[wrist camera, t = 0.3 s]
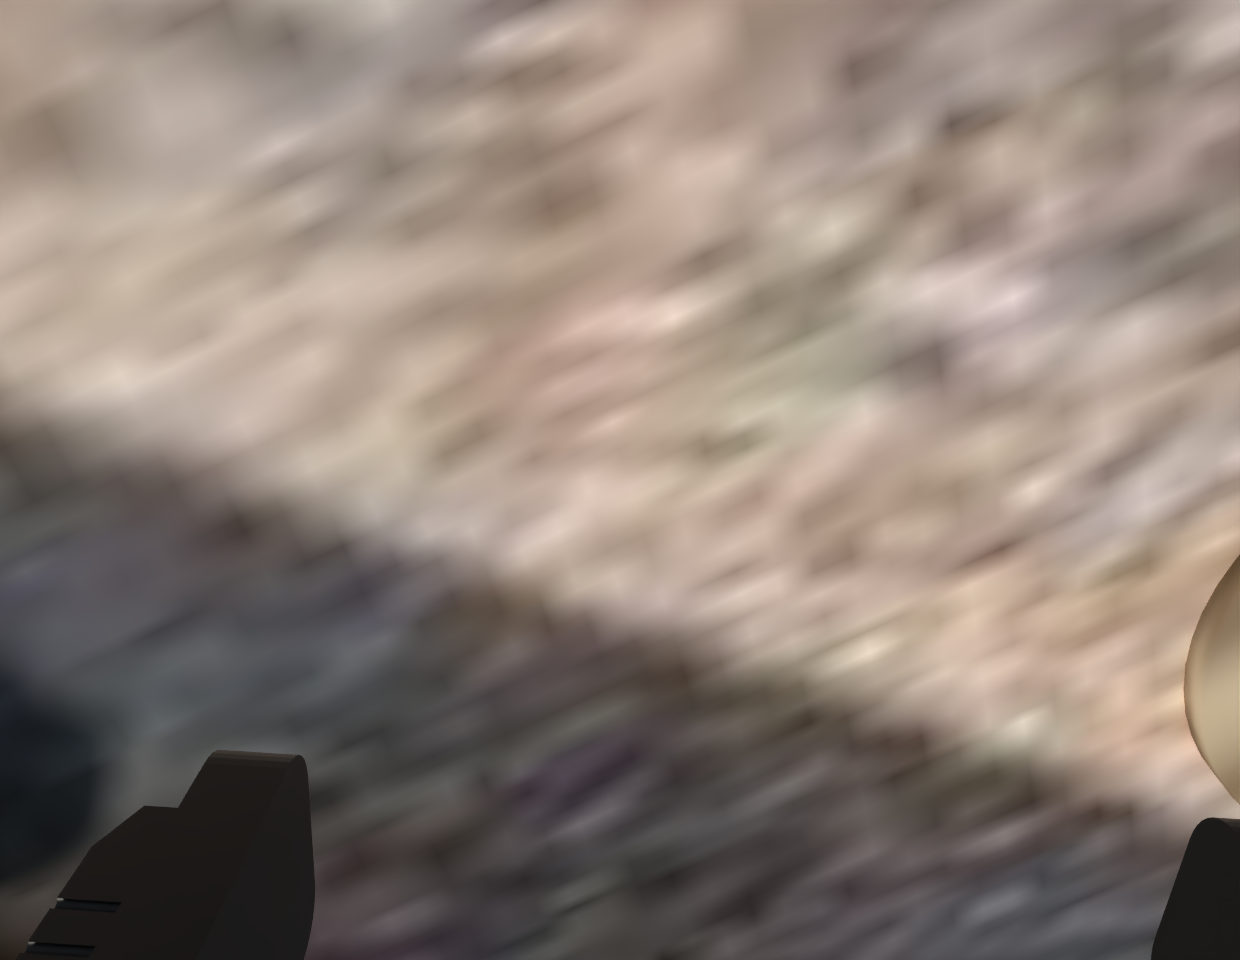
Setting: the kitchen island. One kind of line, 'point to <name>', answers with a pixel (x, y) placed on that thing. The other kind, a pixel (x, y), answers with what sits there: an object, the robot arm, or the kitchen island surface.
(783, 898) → the kitchen island surface
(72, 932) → the robot arm
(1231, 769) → the lid
